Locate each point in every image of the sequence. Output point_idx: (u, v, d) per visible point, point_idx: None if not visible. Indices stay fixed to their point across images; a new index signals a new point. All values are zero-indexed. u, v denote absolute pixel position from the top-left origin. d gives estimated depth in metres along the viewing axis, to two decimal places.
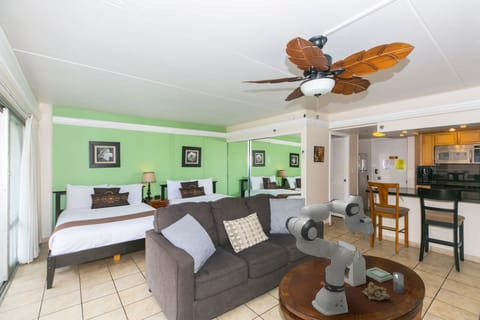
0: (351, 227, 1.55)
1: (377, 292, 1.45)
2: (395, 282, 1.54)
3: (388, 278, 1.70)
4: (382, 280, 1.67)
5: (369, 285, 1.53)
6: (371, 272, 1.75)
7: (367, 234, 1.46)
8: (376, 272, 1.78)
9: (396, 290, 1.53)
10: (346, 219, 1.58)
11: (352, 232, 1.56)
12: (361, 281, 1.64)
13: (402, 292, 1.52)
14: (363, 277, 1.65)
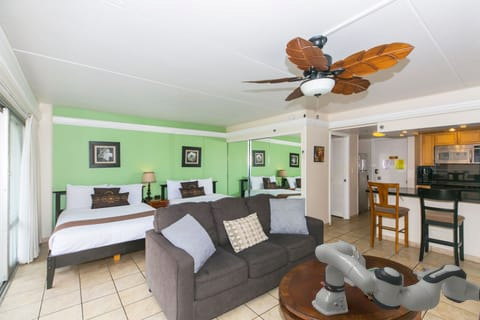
0: None
1: None
2: None
3: None
4: None
5: None
6: (371, 272, 1.75)
7: None
8: None
9: None
10: None
11: None
12: None
13: None
14: None
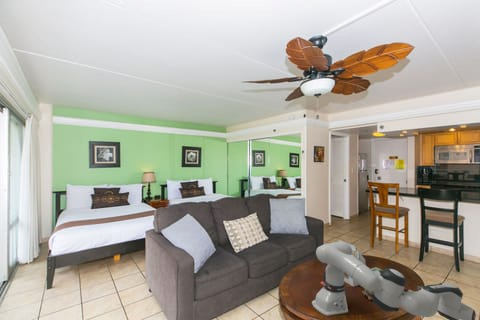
0: None
1: None
2: None
3: None
4: None
5: None
6: None
7: None
8: (376, 272, 1.78)
9: None
10: None
11: None
12: None
13: None
14: None
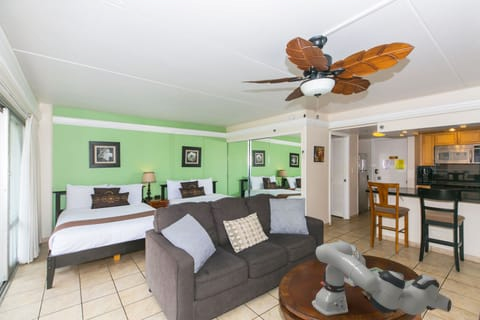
0: None
1: None
2: None
3: None
4: None
5: None
6: None
7: None
8: (376, 272, 1.78)
9: None
10: None
11: None
12: None
13: None
14: None
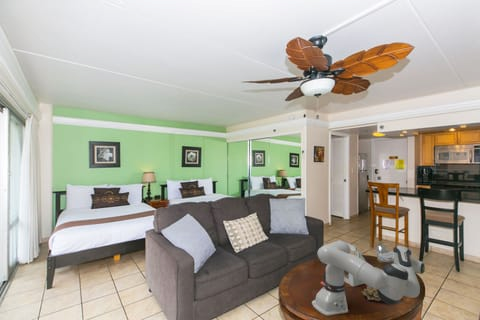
0: None
1: (376, 293, 1.45)
2: None
3: None
4: None
5: None
6: None
7: None
8: None
9: (379, 260, 1.71)
10: None
11: None
12: None
13: None
14: None
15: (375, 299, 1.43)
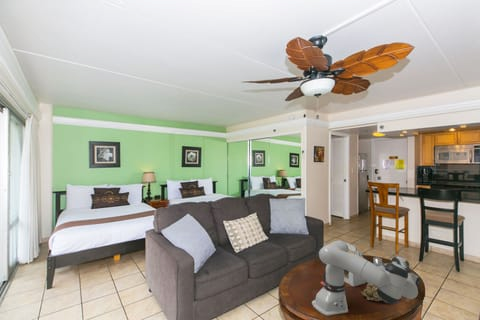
0: None
1: (375, 293, 1.44)
2: None
3: None
4: None
5: (368, 286, 1.53)
6: None
7: None
8: None
9: None
10: None
11: None
12: (361, 281, 1.64)
13: None
14: None
15: (375, 299, 1.42)
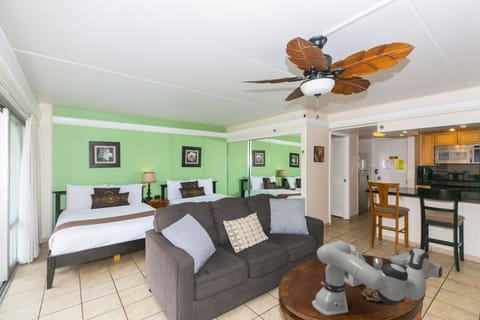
0: None
1: (375, 293, 1.44)
2: (375, 265, 1.75)
3: None
4: None
5: (367, 286, 1.52)
6: None
7: None
8: None
9: None
10: None
11: (391, 257, 1.62)
12: None
13: None
14: None
15: (374, 299, 1.42)
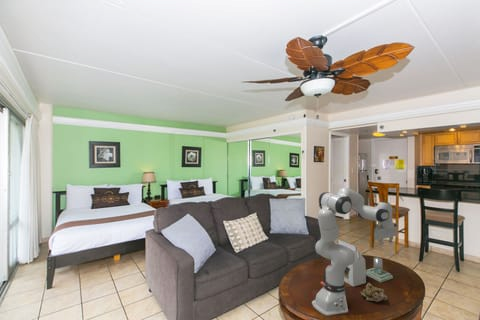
0: (384, 236, 1.53)
1: (375, 293, 1.44)
2: (375, 265, 1.75)
3: (388, 278, 1.70)
4: (382, 280, 1.67)
5: (367, 286, 1.52)
6: (371, 272, 1.75)
7: None
8: None
9: (375, 272, 1.74)
10: (380, 230, 1.52)
11: (381, 242, 1.54)
12: (361, 281, 1.64)
13: (381, 274, 1.73)
14: (363, 277, 1.65)
15: (374, 300, 1.42)
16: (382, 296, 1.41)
